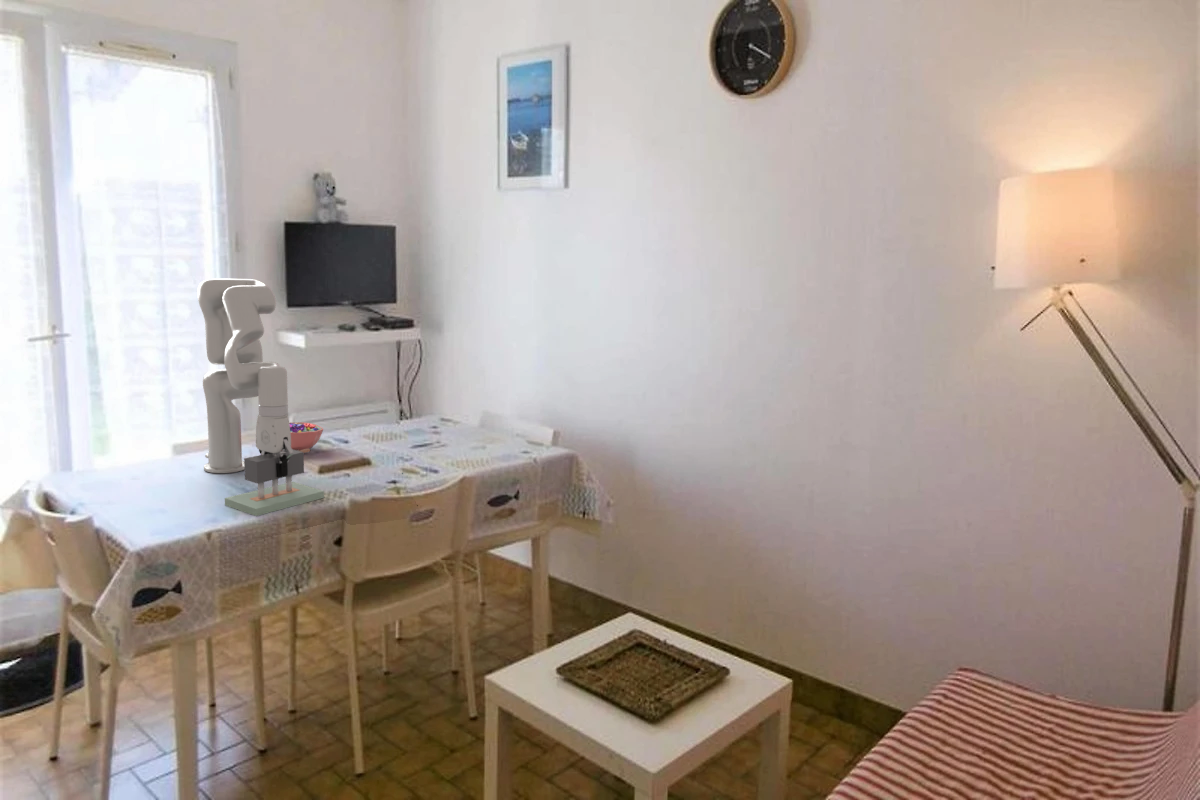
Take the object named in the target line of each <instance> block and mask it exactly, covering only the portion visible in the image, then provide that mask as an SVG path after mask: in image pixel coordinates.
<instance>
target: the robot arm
mask: <svg viewBox="0 0 1200 800" xmlns="http://www.w3.org/2000/svg"><path fill="white" fill-rule="evenodd" d="M197 302H198V304H199V307H200V309H201V313H202V315H203V318H204V326H205V327H204V328H205V329H204V330H205V345H206V346H205V349H206V357H207V360H208V362H209V363H211V364H212V365H216V366H225V367H224V368H222V369H221V368H220V369H213V370H211V371H208V372H207V373H206V374H204V376H203V379H202V387H203V388H202V389H203V392H204V398H205V403H206V413H207V416H206V418H207V437H208V439H207V440H208V443H207V444H208V453H206V454H205V455H204V457H205V458H206V459H208V462H207V463H205V464H204V465H203V470H204V471H205V472H208V473H212V474H231V473H237V472H242V471H245V468H244V460H243V453H242V452H243V451H242V445H243V443H242V417H241V411H240V409H239V408H238V407H237V406H236V405H235V403H233V400H238V399H239V400H240V399H252V398H257V397H258V414H257V417H256V425H255V426H256V427H255V447H256V449H257V450H258V452H259V453H260V455H264V454H269V453H272V454H276V457H277V461H278V463H276V471H277V477H278V478H279V477H283V478H285V477H284V476H287V475H288V465H287V462H289V459H290V457H291V456H292V454H293V450H292V448H291V433H290V425H289V423H290V420H289V410H288V409H289V403H288V401H289V400H288V397H289V396H288V395H289V394H288V371H287V369H286V368H285V367H283V366H281V365H280V364H279V363H278V362H276V361H264V360H263V359H264V358H263V356H264V355H263V346H262V344H261V341H260V339H261V338H262V337H263V335H264V333H265V328H264V324H263V322H262V319H261V316H260V315H271V314H273V313H274V311H275V310H276V307H277V300H276V295H275V293H274V291H273V290H272V288H271V287H270V286H268V285H267V284H266V283H264V282H262V281H259V280H258V279H252V278H211V279H205V280H202V281H201V282H200V283H199V285H198V287H197ZM281 450H282V452H281ZM280 454H283V456H282V457H281V455H280ZM279 479H280V478H279Z"/></svg>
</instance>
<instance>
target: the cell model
mask: <svg viewBox="0 0 1200 800" xmlns="http://www.w3.org/2000/svg"><path fill="white" fill-rule="evenodd" d="M289 425H290V433H291V448H292V449H293V450H297V451H299V450H304V449H310V450H311V448H313V447H314V446H315V445H317V443H318V442H319V441H320V438H321V436H322V434H323V431H324V428H323V427H322V426H320V425H318V424H315V423H310V422H302V421H301V422H289ZM281 451H282V450H281Z"/></svg>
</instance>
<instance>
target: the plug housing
mask: <svg viewBox="0 0 1200 800" xmlns="http://www.w3.org/2000/svg"><path fill="white" fill-rule="evenodd" d="M292 450H293V449H292ZM281 452H282V451H281ZM309 452H311V448H310V449H304V450H293V454H292V456H291V457H290V459H289V462H287V465H288V475H287V476H284V477H279V478H278V477H277V471H276V463H278V461H277V457H276V454H272V453H269V454H264V455H261V454H260V455H254V456H249V457H244V459H243V461H244V468H245V469H244V481H248V482H251V483H255V484H257V485H258V483H262V482H264V483H265V482H269V481H271V482H272V480H275V479H278V480H279V479H282V478H286V477H288V476H292V477H293V476H295V475H300V474H304V473H305V465H304V464H305V458H304V457H305V456H304V454H307V453H309ZM280 455H281V457H282V456H283V454H280Z"/></svg>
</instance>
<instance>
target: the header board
mask: <svg viewBox="0 0 1200 800" xmlns="http://www.w3.org/2000/svg"><path fill="white" fill-rule="evenodd" d="M324 498H325V491H324V490H322V489H319V488H316V487H312V486H309V485H305V484H302V483H299V482H296V481H293V475H292V476H288V477H285V482H284V483H281V484H279V479H275V480H271V486H269V487H266V488H265V482H262V483H258V484H257V489H255V490H253V491H248V492H244V493H241V494H236V495H232V496H228V497H225V498H224V505H225V506H227V507H228V508H229V507H230V508H232V509H234V510H235V509H236V510H237V509H238V510H237V511H241V512H244V513H246V514H249V515H252V516H254V517H257V516H258V517H259V516H261V515H266V514H269V513H273V512H277V511H279V510H283V509H288V508H292V507H294V506H298V505H302V504H306V503H309V502H313V501H317V500H321V499H324Z"/></svg>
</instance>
